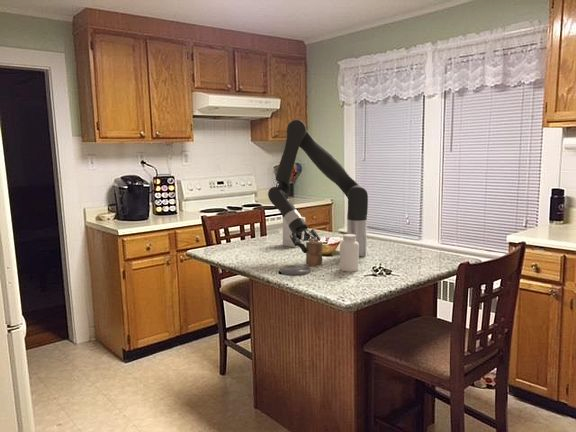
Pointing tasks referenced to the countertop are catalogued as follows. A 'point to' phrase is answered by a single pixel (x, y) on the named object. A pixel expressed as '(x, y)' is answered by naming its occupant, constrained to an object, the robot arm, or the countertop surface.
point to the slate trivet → (295, 270)
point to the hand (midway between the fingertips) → (313, 250)
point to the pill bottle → (349, 253)
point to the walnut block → (314, 253)
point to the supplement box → (288, 235)
